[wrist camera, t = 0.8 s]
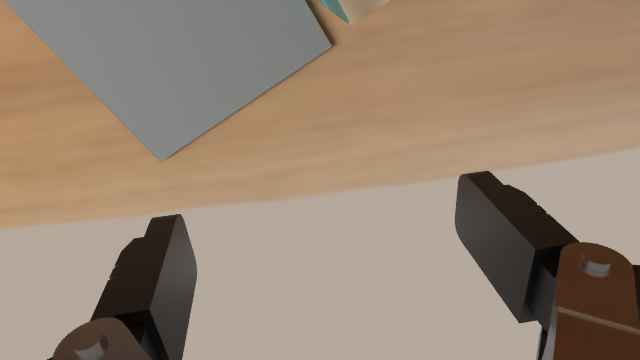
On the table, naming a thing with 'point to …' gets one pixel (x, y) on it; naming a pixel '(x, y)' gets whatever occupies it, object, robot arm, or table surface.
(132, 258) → the robot arm
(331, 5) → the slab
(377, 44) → the table surface
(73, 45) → the mat
